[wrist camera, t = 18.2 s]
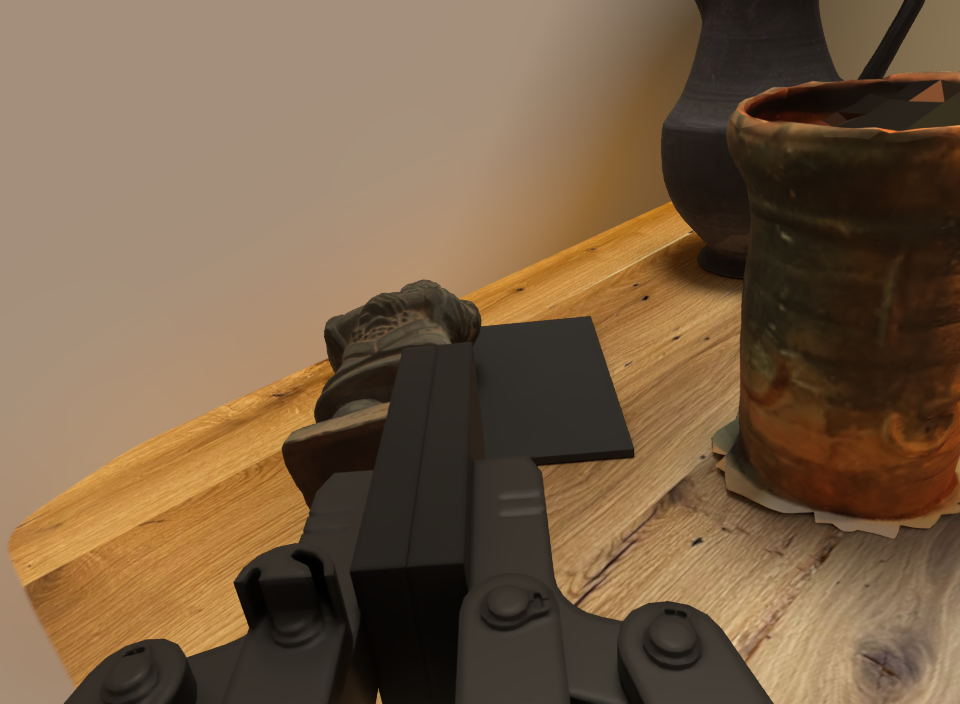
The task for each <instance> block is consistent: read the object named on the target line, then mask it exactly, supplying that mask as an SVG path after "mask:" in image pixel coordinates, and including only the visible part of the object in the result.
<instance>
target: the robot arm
mask: <svg viewBox="0 0 960 704" xmlns="http://www.w3.org/2000/svg"><path fill="white" fill-rule="evenodd" d="M303 531H304V533H303V534H302V535H301V538H300V541H299V544H298V543H295V544H290V545H285V546H280V547H276V548H274V549H272V550H270V551H268V552H265V553H263V554H261V555H259V556H258V557H256V558H255V559H254V560H253V561H251V562H250V563H249V564H248V565H246V566H245V567H244V568H243V569H242V571H241V572H240V573H239V575H238V576H237V578H236V579H235V581H234V582H233V583H234V586H235V589H236V591H237V594H238V597H239V600H240V603H241V606H242V609H243V611H244V614H245V617H246V620H247V623H248V626H249V630H248V633H247V634H246V635H245V636H243V637H241V638H239V639H237V640H235V641H232V642H230V643H228V644H225V645H222V646H219V647H216V648H213V649H211V650H208V651H205V652H202V653H199V654H196V655H193V656H190V657H187V658H186V656H185V654H184V653H183V651H182V650H181V648H180V647H179V645H178V644H176V643H173V642H171V641H168V640H166V639H146V640H143V641H140V642H137V643H134V644H131V645H128V646H125V647H124V648H122V649H120V650H119V651H117V652H115V653H113V654H112V655H110V656H108V657H107V658H105V659H104V660H103V661H102V662H101V663H100V664H99V665H98V666H97V667H96V668H95V669H94V670H93V671H91V672H90V673H89V674H88V676H87V677H86V678H85V679H84V680H83V682H82V683H81V684H80V685H79V686H78V687H77V689H76V690H75V691H74V692H73V693H72V695H71V696H70V697H69V698H68V699H67V700H66V702H65V703H64V704H376V699H377V692H378V688H379V692H380V696H381V700H382V704H774V703H773V702H772V701H771V699H770V698H769V696H768V695H767V693H766V692H765V690H764V689H763V688H762V686H761V685H760V683H759V682H758V680H757V679H756V677H755V676H754V675H753V673H752V672H751V670H750V669H749V667H748V666H747V664H746V663H745V662H744V660H743V659H742V657H741V656H740V654H739V653H738V652H737V650H736V649H735V647H734V646H733V644H732V643H731V641H730V640H729V639H728V637H727V636H726V634H725V633H724V631H723V630H722V629H721V628H720V627H719V626H718V625H717V624H716V623H715V622H714V621H713V620H712V619H711V618H710V617H709V616H708V615H707V614H705V613H703V612H701V611H699V610H697V609H695V608H693V607H691V606H690V605H685V604H680V603H675V602H670V601H665V602H655V603H648V604H646V605H644V606H641V607H639V608H637V609H635V610H633V611H631V613H630V614H629V615H628V616H627V617H626V618H625V619H624V621H619V620H614V619H609V618H604V617H600V616H597V615H594V614H590V613H587V612H585V611H583V610H581V609H580V608H578V607H576V606H574V605H573V604H572V603H571V602H570V601H568V600H567V599H566V598H565V597H564V596H563V594H562V593H561V591H560V590H559V588H558V587H557V584H556V580H555V577H554V570H553V562H552V553H551V545H550V536H549V528H548V520H547V512H546V503H545V495H544V486H543V477H542V472H541V471H540V469H539V468H538V467H537V466H536V464H535V463H534V462H533V461H532V460H531V458H530V457H529V456H517V457H505V458H492V459H485V444H484V435H483V427H482V419H481V411H480V402H479V394H478V386H477V377H476V369H475V361H474V352H473V344H472V342H464V343H453V344H442V345H431V346H419V347H408V348H403V349H402V354H401V358H400V362H399V366H398V370H397V375H396V379H395V383H394V387H393V391H392V395H391V400H390V404H389V408H388V412H387V416H386V421H385V425H384V429H383V433H382V437H381V442H380V446H379V450H378V454H377V458H376V462H375V467H374V470H367V471H355V472H342V473H334V474H333V475H332V476H331V477H330V478H329V479H328V480H327V481H326V482H325V483H324V484H323V485H322V487H321V488H320V489H319V490H318V491H317V492H316V495H315V498H314V500H313V503H312V506H311V509H310V512H309V517H308V518H307V521H306V524H305V527H304V529H303Z"/></svg>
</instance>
